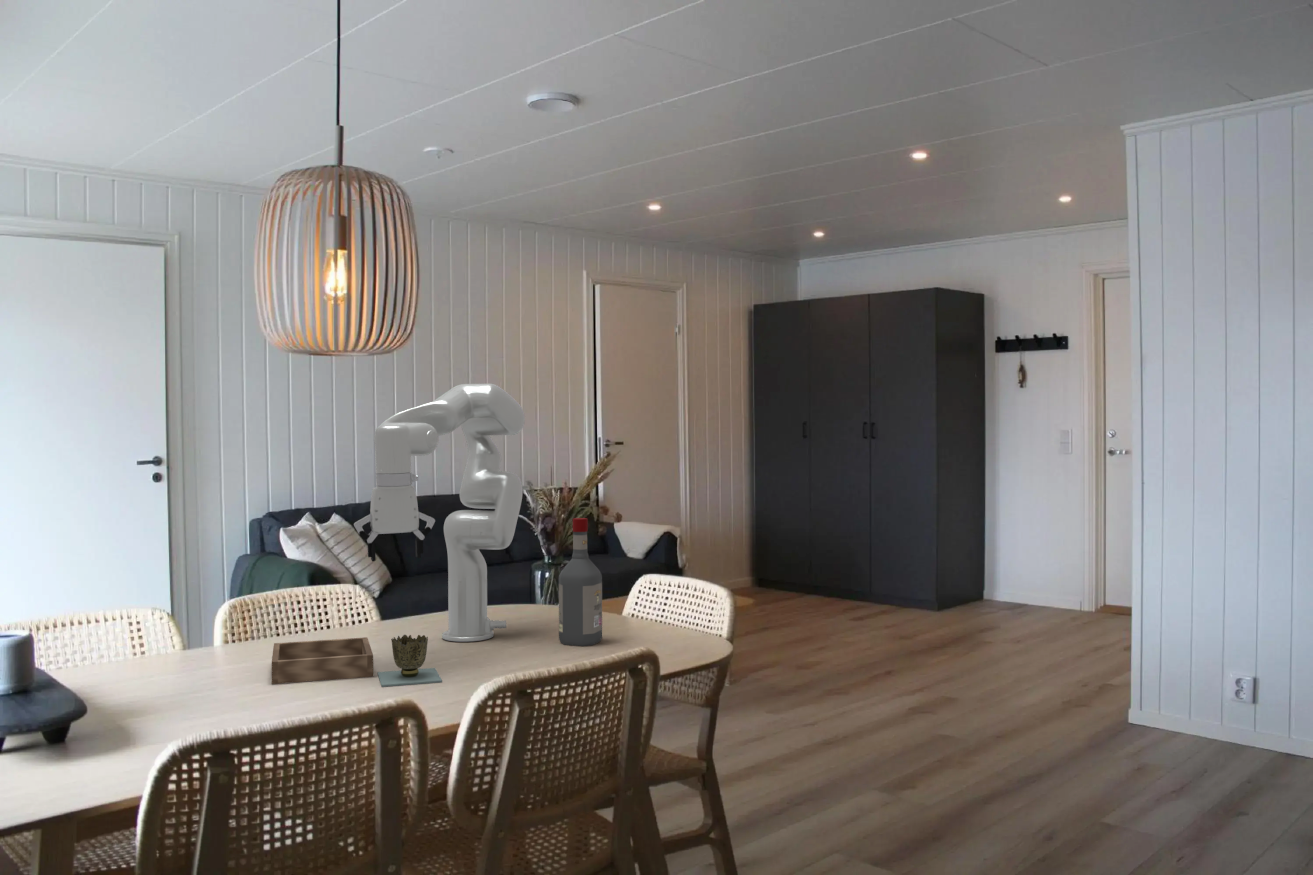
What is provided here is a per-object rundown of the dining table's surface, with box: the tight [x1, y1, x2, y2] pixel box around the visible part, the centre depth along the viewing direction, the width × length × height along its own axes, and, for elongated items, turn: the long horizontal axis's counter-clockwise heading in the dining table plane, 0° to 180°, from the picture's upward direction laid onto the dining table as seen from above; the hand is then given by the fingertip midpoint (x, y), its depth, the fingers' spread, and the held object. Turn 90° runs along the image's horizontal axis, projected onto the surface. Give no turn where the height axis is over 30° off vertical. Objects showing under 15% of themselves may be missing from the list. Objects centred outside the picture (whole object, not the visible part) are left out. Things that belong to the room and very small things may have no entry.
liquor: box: [558, 517, 603, 647], centre depth 256 cm, size 9×9×30 cm
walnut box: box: [271, 637, 374, 685], centre depth 227 cm, size 20×20×4 cm
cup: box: [391, 634, 429, 677], centre depth 220 cm, size 8×7×8 cm
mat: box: [377, 667, 443, 688], centre depth 220 cm, size 12×12×1 cm
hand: (395, 558), depth 231 cm, fingers open, 9 cm apart
